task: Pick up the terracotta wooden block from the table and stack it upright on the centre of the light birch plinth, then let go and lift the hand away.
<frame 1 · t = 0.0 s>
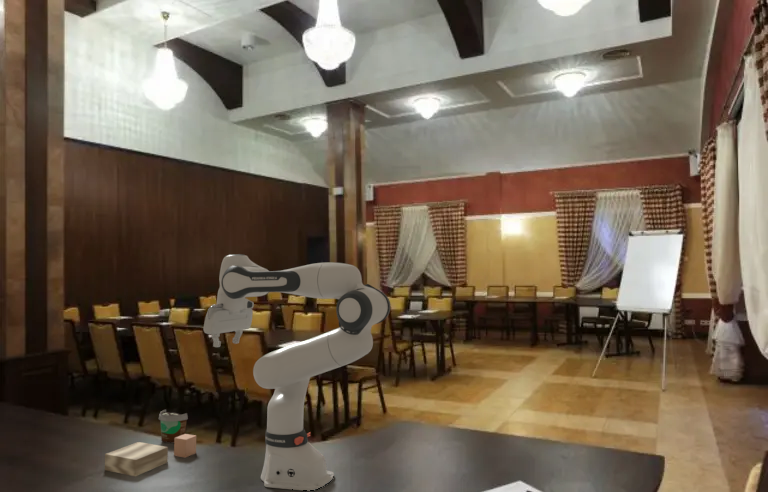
hand: (226, 345, 175), 39 cm above the table, tool pointing down, fingers open, 8 cm apart
food container: (168, 441, 198), on the table
terracotta block: (185, 454, 184), on the table
birch plinth: (136, 466, 172), on the table
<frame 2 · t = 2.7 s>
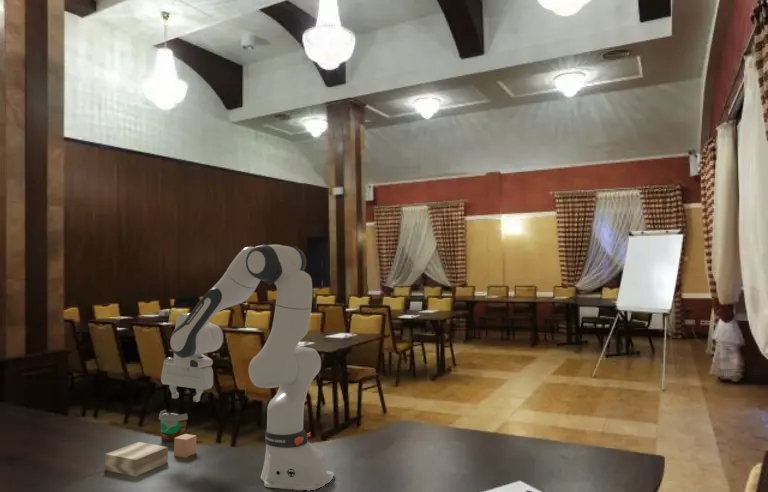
hand: (185, 399, 185), 18 cm above the table, tool pointing down, fingers open, 8 cm apart
nothing on the table moved.
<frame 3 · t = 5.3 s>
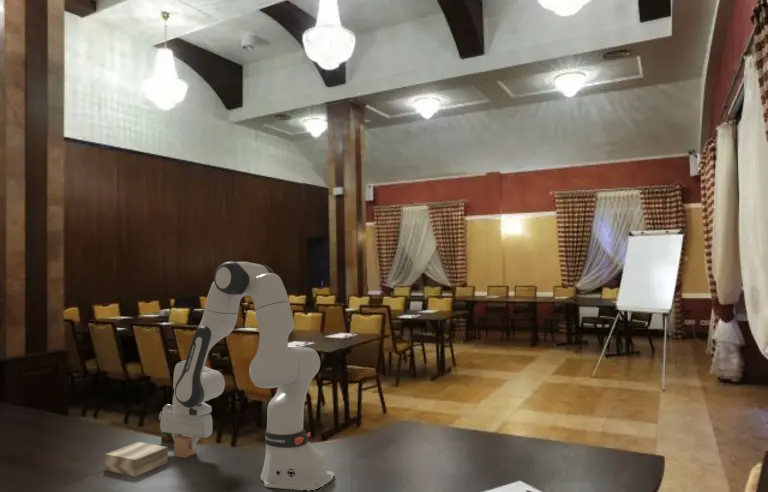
hand: (185, 447, 184), 2 cm above the table, tool pointing down, fingers closed on terracotta block, 5 cm apart
terracotta block: (185, 454, 184), on the table, touching gripper
everything else where it was.
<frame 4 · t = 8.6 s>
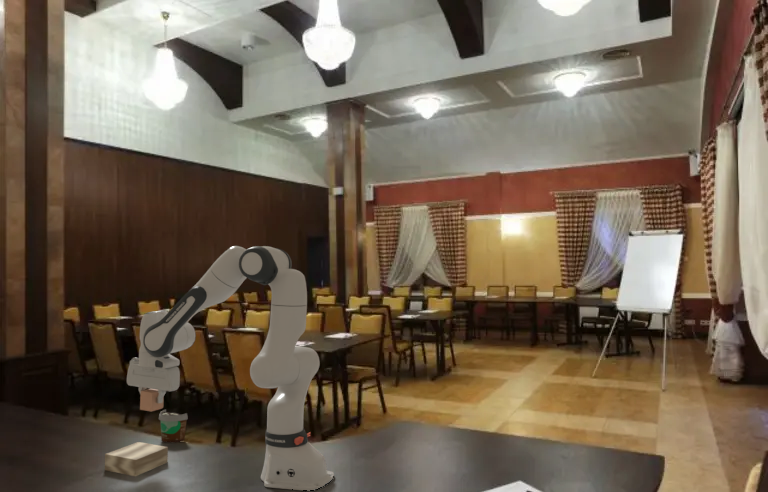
hand: (151, 401, 176), 20 cm above the table, tool pointing down, fingers closed on terracotta block, 5 cm apart
terracotta block: (151, 408, 176), point 17 cm above the table, touching gripper
everything else where it was.
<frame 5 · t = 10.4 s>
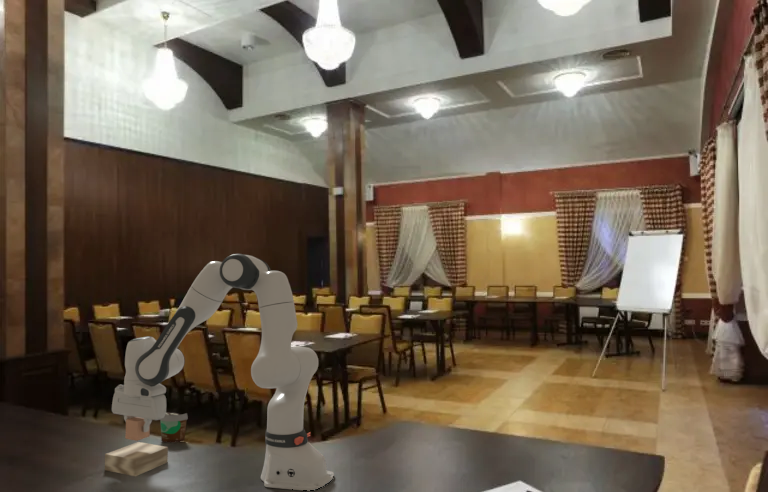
hand: (137, 430, 173), 11 cm above the table, tool pointing down, fingers closed on terracotta block, 5 cm apart
terracotta block: (137, 437, 173), point 9 cm above the table, touching gripper
everything else where it was.
when the fingers open (9 cm above the table, at t = 11.8 s): terracotta block drops 1 cm, resting on birch plinth.
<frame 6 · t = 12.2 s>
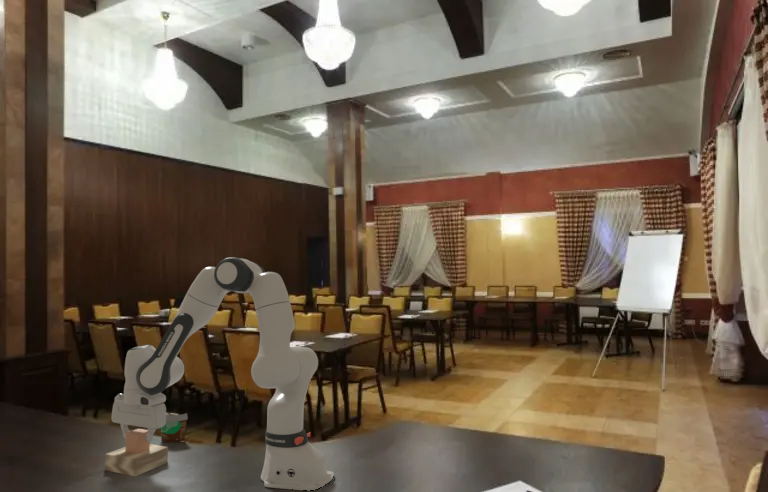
hand: (137, 439, 172), 9 cm above the table, tool pointing down, fingers open, 8 cm apart
terracotta block: (137, 450, 172), point 5 cm above the table, touching birch plinth
everything else where it was.
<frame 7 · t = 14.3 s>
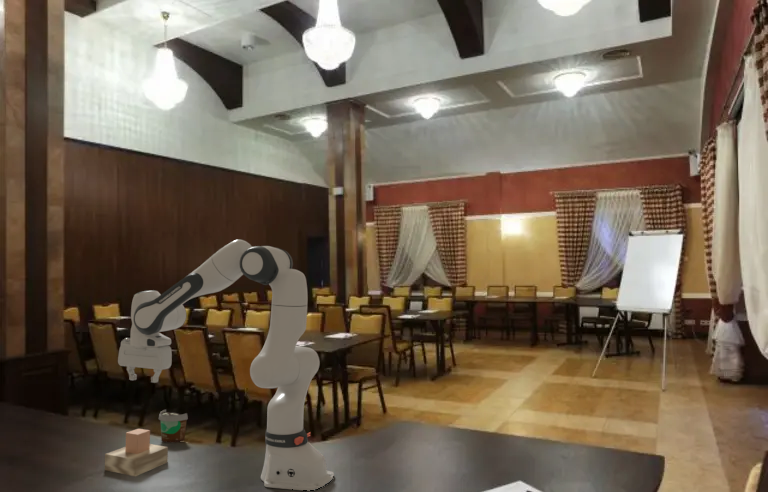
hand: (143, 381, 178), 26 cm above the table, tool pointing down, fingers open, 8 cm apart
nothing on the table moved.
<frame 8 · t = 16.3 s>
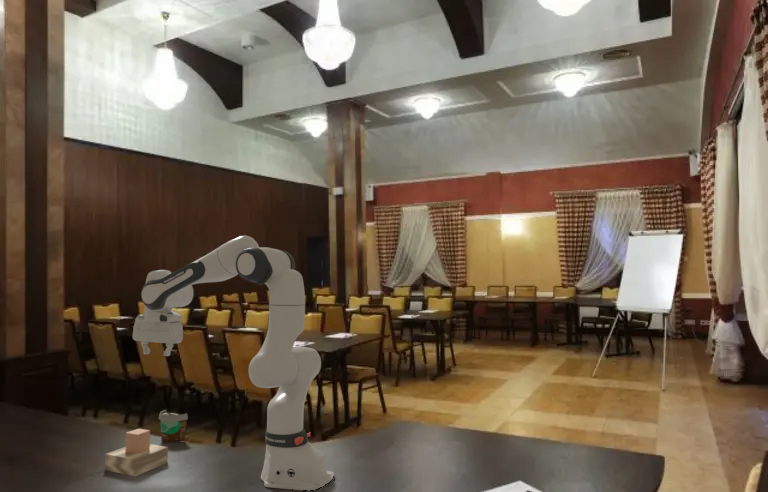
hand: (156, 354, 189), 33 cm above the table, tool pointing down, fingers open, 8 cm apart
nothing on the table moved.
at the end: terracotta block inside the target area (0.1 cm from its centre), point 5.0 cm above the table; terracotta block tilted 0°; the gripper is holding nothing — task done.
